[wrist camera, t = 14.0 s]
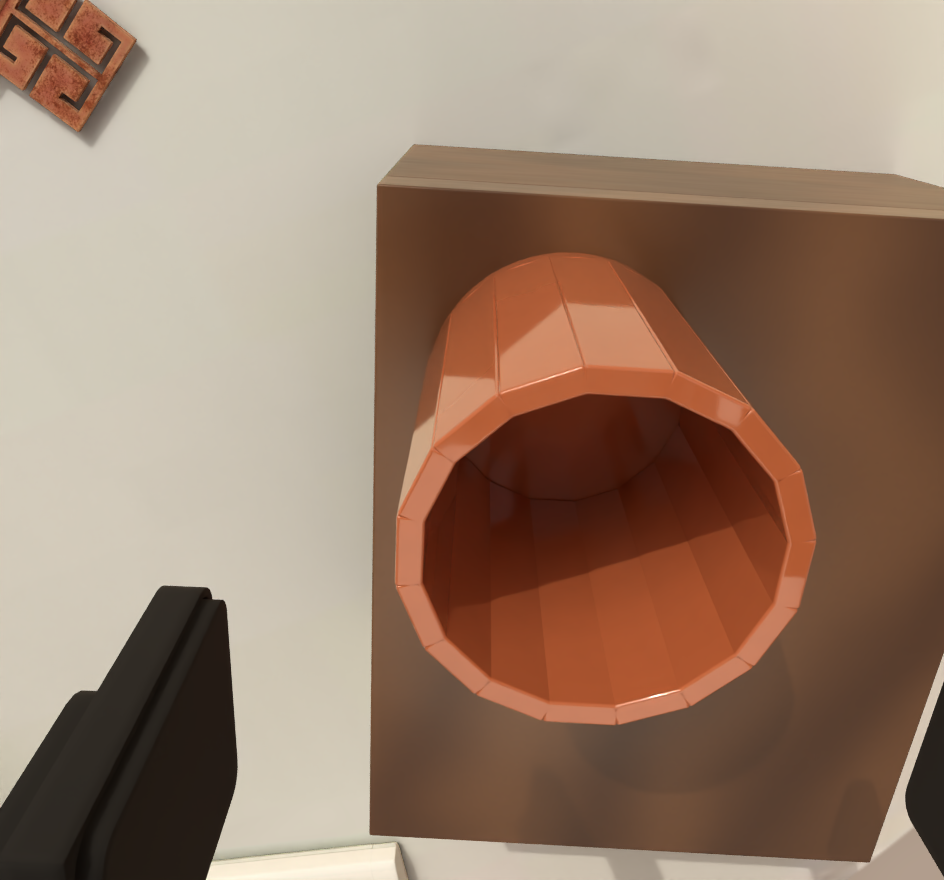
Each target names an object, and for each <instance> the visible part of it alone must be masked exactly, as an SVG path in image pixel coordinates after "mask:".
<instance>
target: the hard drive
mask: <svg viewBox="0 0 944 880" xmlns="http://www.w3.org/2000/svg"><path fill="white" fill-rule="evenodd" d="M206 880H408V876H407V872H406V869H405V866H404V862H403V858H402V854H401V851H400V847H399V845H398V843H397V842H390V843H381V844H365V845H356V846H346V847H335V848H327V849H318V850H308V851H298V852H289V853H280V854H270V855H261V856H251V857H243V858H233V859H224V860H214V861H212V862H211V865H210V868H209V872H208V875H207V878H206Z"/></svg>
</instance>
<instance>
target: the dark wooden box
mask: <svg viewBox="0 0 944 880" xmlns="http://www.w3.org/2000/svg"><path fill="white" fill-rule="evenodd" d="M551 253H584V254H592V255H597V256H601V257H604V258H608V259H612V260H615V261H617V262H619V263H622V264H624V265H626V266H629V267H631V268H632V269H634V270H636V271H637V272H639V273H641V274H642V275H644V276H646V277H647V278H648V279H649V280H651V281H652V282H653V283H655V284H657V285H658V286H659V287H661V289H662V290H663V291H664V292H665V294H666V295H667V296H668V297H669V299H670V300H671V301H672V302H673V303H674V305H675V306H676V307H677V308H678V310H679V311H680V312H681V313H682V315H683V316H684V317H685V318H686V320H687V321H688V322H689V323H690V325H691V326H692V327H693V328H694V330H695V331H696V332H697V333H698V335H699V336H700V337H701V339H702V340H703V341H704V342H705V344H706V345H707V346H708V348H709V349H710V350H711V351H712V353H713V354H714V355H715V357H716V358H717V359H718V360H719V362H720V363H721V364H722V366H723V367H724V368H725V369H726V371H727V372H728V373H729V375H730V376H731V377H732V378H733V380H734V381H735V382H736V384H737V385H738V386H739V387H740V389H741V390H742V391H743V393H744V394H745V395H746V396H747V398H748V399H749V400H750V401H751V403H752V404H753V405H754V407H755V408H756V409H757V410H758V412H759V413H760V414H761V416H762V417H763V418H764V419H765V421H766V422H767V423H768V425H769V426H770V427H771V428H772V430H773V431H774V432H775V434H776V435H777V436H778V437H779V439H780V440H781V441H782V443H783V444H784V445H785V446H786V448H787V449H788V450H789V452H790V453H791V454H792V455H793V457H794V458H795V459H796V461H797V462H798V463H799V464H800V467H801V469H802V470H803V474H804V479H805V484H806V488H807V493H808V498H809V503H810V507H811V512H812V517H813V521H814V526H815V531H816V536H817V537H816V546H815V550H814V554H813V558H812V562H811V565H810V569H809V573H808V577H807V581H806V585H805V588H804V592H803V596H802V600H801V604H800V607H799V608H798V611H797V613H796V614H795V616H794V617H793V618H792V619H791V621H790V622H789V623H788V625H787V626H786V627H785V628H784V630H783V631H782V632H781V633H780V635H779V636H778V637H777V639H776V640H775V641H774V642H773V644H772V645H771V646H770V648H769V649H768V650H767V651H766V653H765V654H764V655H763V657H762V658H761V659H760V660H759V662H758V663H757V664H756V665H755V666H753V668H752V669H751V670H749V671H748V672H746V673H744V674H743V675H741V676H740V677H738V678H736V679H735V680H733V681H732V682H730V683H728V684H727V685H725V686H724V687H722V688H720V689H719V690H717V691H716V692H714V693H712V694H711V695H709V696H708V697H706V698H704V699H703V700H701V701H700V702H698V703H696V704H695V705H693V706H690V705H689V707H688V708H686V709H682V710H678V711H674V712H670V713H666V714H662V715H658V716H654V717H650V718H646V719H642V720H638V721H634V722H630V723H626V724H622V725H618V724H616V725H614V726H613V725H595V724H577V723H560V722H545V721H544V720H542V721H541V720H537V719H535V718H532V717H530V716H527V715H525V714H522V713H520V712H517V711H515V710H512V709H509V708H507V707H504V706H502V705H499V704H497V703H494V702H492V701H489V700H487V699H484V698H481V697H479V696H477V695H476V694H474V693H472V692H471V691H470V690H469V689H468V688H467V687H466V686H465V685H464V684H462V683H461V682H460V681H459V680H458V679H457V678H456V677H455V676H454V675H452V674H451V673H450V672H449V671H448V670H447V669H446V668H445V667H444V666H442V665H441V664H440V663H439V662H438V661H437V660H436V659H435V658H434V657H432V656H431V655H430V654H429V653H428V652H427V651H426V650H425V648H424V647H423V646H422V644H421V642H420V640H419V638H418V635H417V633H416V631H415V629H414V627H413V624H412V622H411V620H410V618H409V616H408V613H407V611H406V609H405V607H404V605H403V602H402V600H401V598H400V596H399V594H398V591H397V589H396V584H395V552H396V517H397V512H398V507H399V502H400V497H401V492H402V487H403V482H404V477H405V472H406V467H407V462H408V456H409V451H410V446H411V441H412V436H413V431H414V426H415V421H416V416H417V411H418V406H419V401H420V396H421V391H422V386H423V381H424V376H425V371H426V366H427V362H428V358H429V356H430V354H431V352H432V350H433V346H434V344H435V341H436V339H437V336H438V334H439V331H440V329H441V327H442V326H443V324H444V322H445V320H446V319H447V317H448V315H449V314H450V312H451V311H452V310H453V308H454V307H455V306H456V305H457V303H458V302H459V301H460V300H461V299H462V298H463V297H464V296H465V295H466V294H467V293H468V292H469V291H470V290H471V289H472V288H473V287H474V286H475V285H477V284H478V283H479V282H481V281H482V280H483V279H484V278H486V277H487V276H489V275H491V274H492V273H494V272H496V271H498V270H499V269H501V268H503V267H505V266H507V265H510V264H512V263H515V262H517V261H519V260H522V259H526V258H530V257H534V256H537V255H543V254H551ZM943 653H944V188H943V187H939V186H936V185H932V184H928V183H925V182H921V181H917V180H914V179H910V178H906V177H903V176H899V175H895V174H880V173H864V172H848V171H832V170H816V169H800V168H784V167H768V166H752V165H736V164H720V163H704V162H688V161H672V160H656V159H640V158H624V157H608V156H592V155H576V154H560V153H544V152H528V151H512V150H496V149H480V148H464V147H448V146H432V145H416V144H414V145H413V146H412V147H411V148H410V149H409V150H408V151H407V152H406V153H405V155H404V156H403V157H402V158H401V159H400V160H399V161H398V162H397V163H396V165H395V166H394V167H393V168H392V169H391V170H390V171H389V172H388V173H387V175H386V176H385V177H384V178H383V179H382V180H381V181H380V182H379V183H378V185H377V221H376V309H375V397H374V484H373V572H372V659H371V747H370V835H380V836H398V837H416V838H435V839H453V840H471V841H489V842H507V843H525V844H543V845H562V846H580V847H598V848H616V849H634V850H652V851H670V852H689V853H707V854H725V855H743V856H761V857H779V858H797V859H815V860H834V861H852V862H870V860H871V857H872V854H873V851H874V848H875V846H876V843H877V840H878V837H879V834H880V831H881V829H882V826H883V823H884V820H885V817H886V814H887V812H888V809H889V806H890V803H891V800H892V798H893V795H894V792H895V789H896V786H897V783H898V781H899V778H900V775H901V772H902V769H903V766H904V764H905V761H906V758H907V755H908V752H909V749H910V747H911V744H912V741H913V738H914V735H915V732H916V730H917V727H918V724H919V721H920V718H921V715H922V713H923V710H924V707H925V704H926V701H927V698H928V696H929V693H930V690H931V687H932V684H933V681H934V679H935V676H936V673H937V670H938V667H939V665H940V662H941V659H942V656H943Z"/></svg>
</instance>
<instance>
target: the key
mask: <svg viewBox="0 0 944 880" xmlns="http://www.w3.org/2000/svg"><path fill="white" fill-rule="evenodd" d="M21 1H22V0H0V37H1V36H2V34H3V32H4V30H5V29H6V27H7V25H8V23H9V21H10V20H11V18H12V16H13V15H15V16H16V17H17V18H18V19H20V20H21V21H22V22H24V23H25V24H26V25H27V26H29V27H30V28H31V29H33V30H34V31H35V32H36V33H38V34H39V35H40V36H42V37H43V38H44V39H45V40H47V41H48V42H49V43H51V44H52V45H53V46H54V47H56V48H57V49H58V50H60V51H61V52H62V53H63V54H65V55H66V56H67V57H69V58H70V59H71V60H72V61H74V62H75V63H76V64H78V65H79V66H80V67H81V68H83V69H84V70H85V71H87V72H88V73H89V74H90V75H92V76H93V77H94V78H96V79H97V80H98V81H97V83H96V85H95V86H94V88H93V89H92V91H91V93H90V94H89V96H88V98H87V99H86V101H85V102H84V104H83V106H82V107H81V109H80V111H79V110H78V109H76V108H75V107H74V106H72V105H71V104H70V103H68V102H67V101H66V100H65V99H63V98H62V97H61V96H62V95H63V93H64V94H65V95H67V96H68V97H69V98H71V99H72V100H73V101H75V102H76V101H78V100H79V98H80V97H81V95H82V94H83V92H84V90H85V89H86V87H87V85H88V84H89V82H90V80H89V79H88V78H86V77H85V76H84V75H82V74H81V73H80V72H79V71H77V70H76V69H75V68H73V67H72V66H71V65H70V64H68V63H67V62H66V61H64V60H63V59H62V58H60V57H59V56H58V55H57V54H53V55H52V57H51V59H50V61H49V62H48V64H47V66H46V67H45V69H44V71H43V72H42V74H41V76H40V78H39V79H38V81H37V83H36V84H35V86H34V88H33V90H32V91H31V93H30V95H29V96H30V97H32V98H33V99H34V100H36V101H37V102H38V103H40V104H41V105H42V106H44V107H45V108H46V109H48V110H49V111H50V112H52V113H53V114H54V115H56V116H57V117H58V118H60V119H61V120H62V121H64V122H65V123H66V124H68V125H69V126H70V127H72V128H73V129H74V130H76V131H77V132H79V131H81V129H82V128H83V126H84V124H85V123H86V121H87V119H88V118H89V116H90V115H91V113H92V111H93V110H94V108H95V107H96V105H97V103H98V102H99V100H100V98H101V97H102V95H103V94H104V92H105V90H106V89H107V87H108V86H109V84H110V82H111V81H112V79H113V77H114V76H115V74H116V73H117V71H118V69H119V68H120V66H121V65H122V63H123V61H124V60H125V58H126V57H127V55H128V53H129V52H130V50H131V48H132V47H133V45H134V44H135V42H136V40H137V39H135V38H134V37H133V36H132V35H130V34H129V33H128V32H127V31H125V30H124V29H123V28H122V27H121V26H119V25H118V24H117V23H116V22H114V21H113V20H112V19H111V18H109V17H108V16H107V15H106V14H104V13H103V12H102V11H101V10H99V9H98V8H97V7H96V6H95V5H93V4H92V3H91V2H90V1H88V0H85V1H84V2H83V4H82V6H81V8H80V9H79V11H78V13H77V14H76V16H75V18H74V20H73V21H72V23H71V25H70V26H69V28H68V30H67V31H66V33H65V35H64V37H63V38H65V39H66V40H67V41H68V42H70V43H71V44H72V45H73V46H75V47H76V48H77V49H79V50H80V51H81V52H82V53H84V54H85V55H86V56H88V57H89V58H90V59H91V60H93V61H94V62H95V63H96V64H101V62H102V61H103V59H104V57H105V56H106V54H107V53H108V51H109V49H110V48H111V46H112V44H113V42H112V41H111V40H110V39H108V38H107V37H106V36H105V35H103V34H102V33H101V32H100V31H101V30H102V28H105V29H106V30H107V31H108V32H110V33H111V34H112V35H113V36H115V37H116V38H117V39H118V40H120V41H121V44H120V45H119V47H118V49H117V50H116V52H115V54H114V55H113V57H112V58H111V60H110V62H109V63H108V65H107V67H106V68H105V70H104V71H103V73H102V74H101V73H100V72H98V71H97V70H96V69H95V68H93V67H92V66H91V65H90V64H88V63H87V62H86V61H84V60H83V59H82V58H81V57H79V56H78V55H77V54H75V53H74V52H73V51H72V50H70V49H69V48H68V47H66V46H65V45H64V44H63V43H61V42H60V41H59V40H57V39H56V38H55V37H54V36H52V35H51V34H50V33H49V32H47V31H46V30H45V29H43V28H42V27H41V26H40V25H38V24H37V23H36V22H34V21H33V20H32V19H31V18H29V17H28V16H27V15H25V14H24V13H23V12H22V11H20V10H19V9H18V6H19V5H20V3H21ZM76 2H77V0H29V1H28V3H27V5H26V7H25V8H26V9H28V10H29V11H30V12H31V13H33V14H34V15H35V16H36V17H38V18H39V19H40V20H42V21H43V22H44V23H45V24H47V25H48V26H49V27H51V28H52V29H53V30H54V31H56V32H59V31H60V29H61V28H62V26H63V24H64V22H65V21H66V19H67V17H68V16H69V14H70V12H71V10H72V9H73V7H74V5H75V4H76ZM3 47H4V48H5V49H6V50H8V51H9V52H10V53H12V54H13V55H14V56H16V57H17V59H16V61H15V62H14V61H13V60H12V59H10V58H9V57H8V56H6V55H5V54H3V53H2V52H1V51H0V74H1V75H2V76H4V77H5V78H6V79H8V80H9V81H10V82H12V83H13V84H14V85H16V86H17V87H18V88H20V89H21V90H25V89H26V88H27V86H28V84H29V83H30V81H31V79H32V77H33V76H34V74H35V72H36V71H37V69H38V67H39V65H40V64H41V62H42V60H43V59H44V57H45V55H46V53H47V52H48V50H49V48H48V47H46V46H45V45H44V44H42V43H41V42H40V41H39V40H37V39H36V38H35V37H33V36H32V35H31V34H29V33H28V32H27V31H26V30H24V29H23V28H22V27H20V26H19V25H15V26H14V28H13V30H12V32H11V33H10V35H9V37H8V39H7V41H6V42H5V44H4V46H3Z"/></svg>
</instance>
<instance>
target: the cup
mask: <svg viewBox="0 0 944 880" xmlns="http://www.w3.org/2000/svg"><path fill="white" fill-rule="evenodd" d="M816 537H817V536H816V531H815V526H814V521H813V517H812V512H811V507H810V503H809V498H808V493H807V488H806V484H805V479H804V474H803V470H802V469H801V467H800V464H799V463H798V462H797V461H796V459H795V458H794V457H793V455H792V454H791V453H790V452H789V450H788V449H787V448H786V446H785V445H784V444H783V443H782V441H781V440H780V439H779V437H778V436H777V435H776V434H775V432H774V431H773V430H772V428H771V427H770V426H769V425H768V423H767V422H766V421H765V419H764V418H763V417H762V416H761V414H760V413H759V412H758V410H757V409H756V408H755V407H754V405H753V404H752V403H751V401H750V400H749V399H748V398H747V396H746V395H745V394H744V393H743V391H742V390H741V389H740V387H739V386H738V385H737V384H736V382H735V381H734V380H733V378H732V377H731V376H730V375H729V373H728V372H727V371H726V369H725V368H724V367H723V366H722V364H721V363H720V362H719V360H718V359H717V358H716V357H715V355H714V354H713V353H712V351H711V350H710V349H709V348H708V346H707V345H706V344H705V342H704V341H703V340H702V339H701V337H700V336H699V335H698V333H697V332H696V331H695V330H694V328H693V327H692V326H691V325H690V323H689V322H688V321H687V320H686V318H685V317H684V316H683V315H682V313H681V312H680V311H679V310H678V308H677V307H676V306H675V305H674V303H673V302H672V301H671V300H670V299H669V297H668V296H667V295H666V294H665V292H664V291H663V290H662V289H661V287H659V286H658V285H657V284H655V283H653V282H652V281H651V280H649V279H648V278H647V277H646V276H644V275H642V274H641V273H639V272H637V271H636V270H634V269H632V268H631V267H629V266H626V265H624V264H622V263H619V262H617V261H615V260H612V259H608V258H604V257H601V256H597V255H592V254H584V253H551V254H543V255H537V256H534V257H530V258H526V259H522V260H519V261H517V262H515V263H512V264H510V265H507V266H505V267H503V268H501V269H499V270H498V271H496V272H494V273H492V274H491V275H489V276H487V277H486V278H484V279H483V280H482V281H481V282H479V283H478V284H477V285H475V286H474V287H473V288H472V289H471V290H470V291H469V292H468V293H467V294H466V295H465V296H464V297H463V298H462V299H461V300H460V301H459V302H458V303H457V305H456V306H455V307H454V308H453V310H452V311H451V312H450V314H449V315H448V317H447V319H446V320H445V322H444V324H443V326H442V327H441V329H440V331H439V334H438V336H437V339H436V341H435V344H434V346H433V350H432V352H431V354H430V356H429V358H428V362H427V366H426V371H425V376H424V381H423V386H422V391H421V396H420V401H419V406H418V411H417V416H416V421H415V426H414V431H413V436H412V441H411V446H410V451H409V456H408V462H407V467H406V472H405V477H404V482H403V487H402V492H401V497H400V502H399V507H398V512H397V517H396V552H395V584H396V589H397V591H398V594H399V596H400V598H401V600H402V602H403V605H404V607H405V609H406V611H407V613H408V616H409V618H410V620H411V622H412V624H413V627H414V629H415V631H416V633H417V635H418V638H419V640H420V642H421V644H422V646H423V647H424V648H425V650H426V651H427V652H428V653H429V654H430V655H431V656H432V657H434V658H435V659H436V660H437V661H438V662H439V663H440V664H441V665H442V666H444V667H445V668H446V669H447V670H448V671H449V672H450V673H451V674H452V675H454V676H455V677H456V678H457V679H458V680H459V681H460V682H461V683H462V684H464V685H465V686H466V687H467V688H468V689H469V690H470V691H471V692H472V693H474V694H476V695H477V696H479V697H481V698H484V699H487V700H489V701H492V702H494V703H497V704H499V705H502V706H504V707H507V708H509V709H512V710H515V711H517V712H520V713H522V714H525V715H527V716H530V717H532V718H535V719H537V720H541V721H542V720H544V721H545V722H560V723H577V724H595V725H613V726H614V725H616V724H618V725H622V724H626V723H630V722H634V721H638V720H642V719H646V718H650V717H654V716H658V715H662V714H666V713H670V712H674V711H678V710H682V709H686V708H688V707H689V705H690V706H693V705H695V704H696V703H698V702H700V701H701V700H703V699H704V698H706V697H708V696H709V695H711V694H712V693H714V692H716V691H717V690H719V689H720V688H722V687H724V686H725V685H727V684H728V683H730V682H732V681H733V680H735V679H736V678H738V677H740V676H741V675H743V674H744V673H746V672H748V671H749V670H751V669H752V668H753V666H755V665H756V664H757V663H758V662H759V660H760V659H761V658H762V657H763V655H764V654H765V653H766V651H767V650H768V649H769V648H770V646H771V645H772V644H773V642H774V641H775V640H776V639H777V637H778V636H779V635H780V633H781V632H782V631H783V630H784V628H785V627H786V626H787V625H788V623H789V622H790V621H791V619H792V618H793V617H794V616H795V614H796V613H797V611H798V608H799V607H800V604H801V600H802V596H803V592H804V588H805V585H806V581H807V577H808V573H809V569H810V565H811V562H812V558H813V554H814V550H815V546H816Z"/></svg>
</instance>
